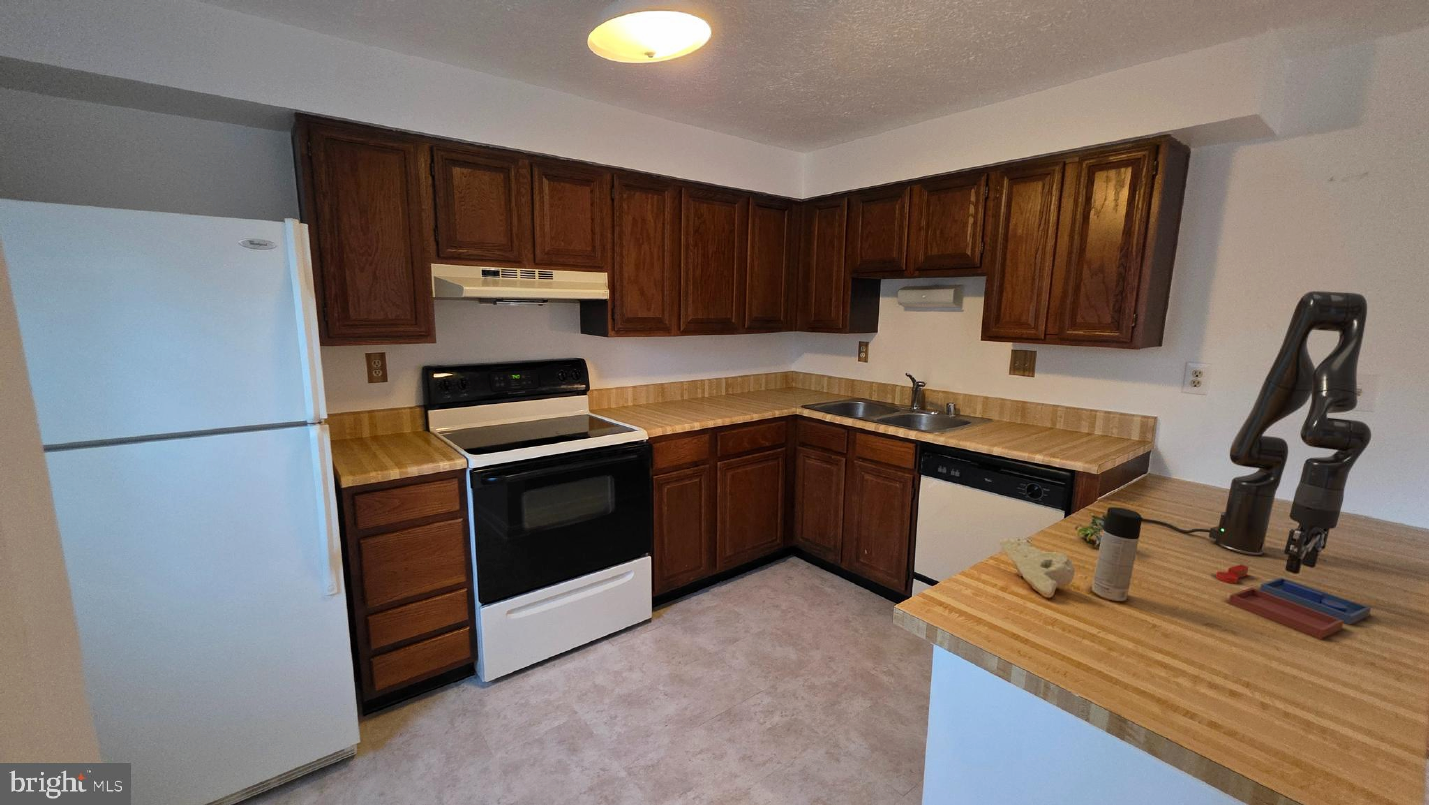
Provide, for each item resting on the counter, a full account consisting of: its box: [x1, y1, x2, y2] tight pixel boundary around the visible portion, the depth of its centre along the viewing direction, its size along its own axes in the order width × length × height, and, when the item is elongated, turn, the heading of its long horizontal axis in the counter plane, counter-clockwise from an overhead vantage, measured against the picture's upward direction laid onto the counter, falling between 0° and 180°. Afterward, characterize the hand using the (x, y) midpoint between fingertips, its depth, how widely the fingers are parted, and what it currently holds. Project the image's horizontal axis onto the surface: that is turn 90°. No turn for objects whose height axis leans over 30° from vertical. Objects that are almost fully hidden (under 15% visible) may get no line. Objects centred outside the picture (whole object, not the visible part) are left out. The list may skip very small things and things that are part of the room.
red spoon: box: [1215, 564, 1249, 584], centre depth 141 cm, size 10×4×2 cm, turn 116°
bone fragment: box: [999, 537, 1075, 599], centre depth 131 cm, size 15×7×15 cm
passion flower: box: [1074, 512, 1107, 549], centre depth 156 cm, size 11×11×12 cm
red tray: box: [1228, 587, 1344, 640], centre depth 123 cm, size 15×10×2 cm
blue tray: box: [1259, 577, 1372, 626], centre depth 130 cm, size 15×10×2 cm
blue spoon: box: [1282, 581, 1347, 613], centre depth 130 cm, size 10×4×2 cm, turn 26°
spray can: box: [1091, 506, 1143, 602], centre depth 127 cm, size 7×7×20 cm
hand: (1299, 569), depth 132 cm, fingers open, 8 cm apart
